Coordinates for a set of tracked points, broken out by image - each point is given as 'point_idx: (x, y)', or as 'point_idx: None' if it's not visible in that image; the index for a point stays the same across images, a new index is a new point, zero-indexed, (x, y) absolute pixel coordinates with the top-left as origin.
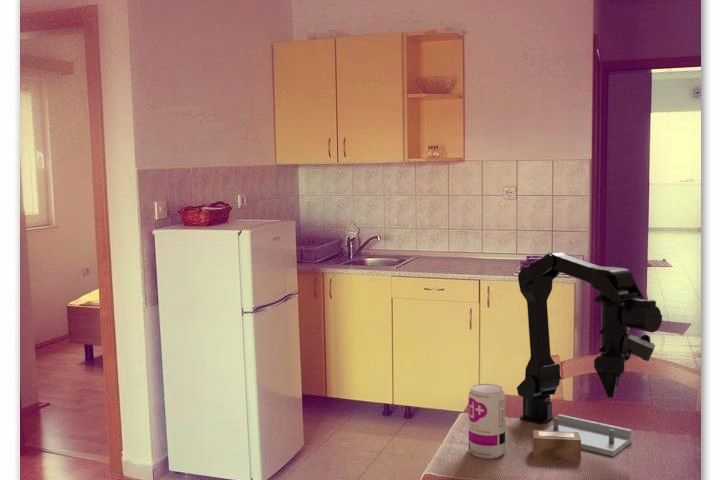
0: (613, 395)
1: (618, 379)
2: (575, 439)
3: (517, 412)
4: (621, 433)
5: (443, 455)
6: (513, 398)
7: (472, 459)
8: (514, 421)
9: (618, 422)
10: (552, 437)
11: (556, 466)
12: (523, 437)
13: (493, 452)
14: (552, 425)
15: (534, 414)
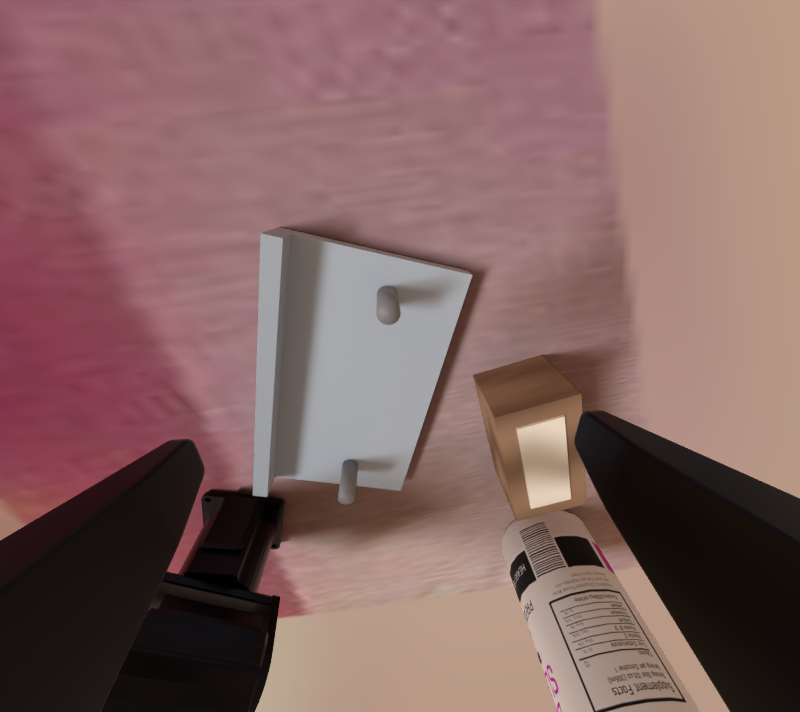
0: (607, 417)
1: (134, 494)
2: (576, 410)
3: None
4: (285, 274)
5: None
6: None
7: None
8: (303, 545)
9: (71, 312)
10: (571, 468)
11: (593, 401)
12: (410, 505)
13: (586, 528)
14: (313, 480)
15: (271, 536)
